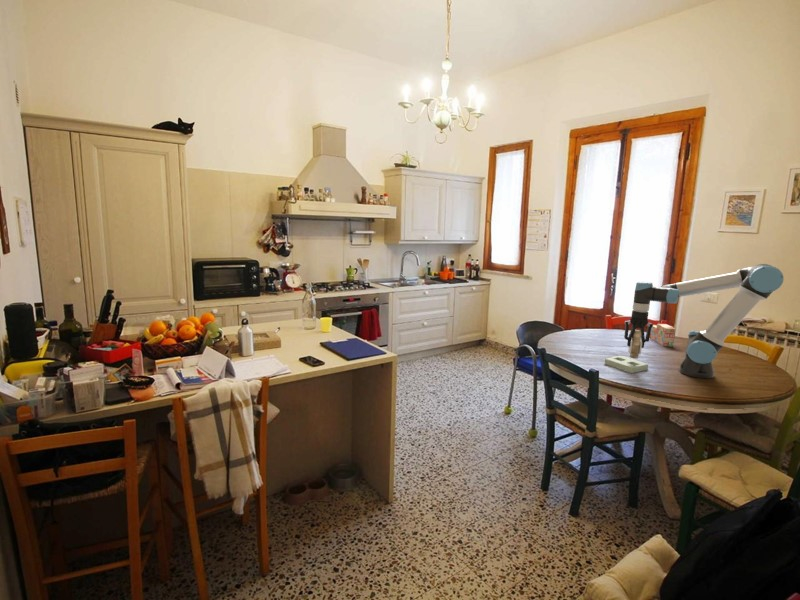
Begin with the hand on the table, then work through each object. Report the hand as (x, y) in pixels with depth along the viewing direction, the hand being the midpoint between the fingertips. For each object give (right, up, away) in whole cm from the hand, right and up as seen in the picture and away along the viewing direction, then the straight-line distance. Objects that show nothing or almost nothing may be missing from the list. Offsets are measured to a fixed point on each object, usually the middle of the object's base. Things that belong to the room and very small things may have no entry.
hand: (634, 352), depth 224 cm
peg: (0, -3, 0) cm, 3 cm away
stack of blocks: (+50, 0, +57) cm, 76 cm away
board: (-2, -8, +5) cm, 10 cm away
